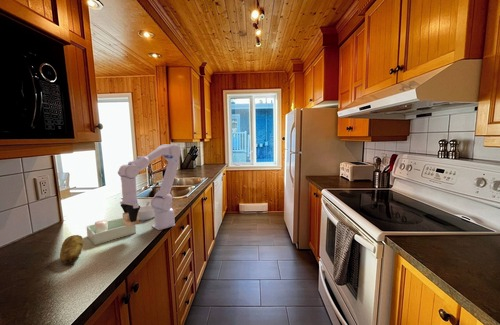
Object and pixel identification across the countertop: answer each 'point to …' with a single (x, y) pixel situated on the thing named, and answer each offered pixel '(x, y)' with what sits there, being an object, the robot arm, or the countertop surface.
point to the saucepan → (146, 212)
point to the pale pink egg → (101, 226)
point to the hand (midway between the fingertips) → (131, 220)
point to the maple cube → (127, 220)
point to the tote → (110, 231)
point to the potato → (71, 249)
